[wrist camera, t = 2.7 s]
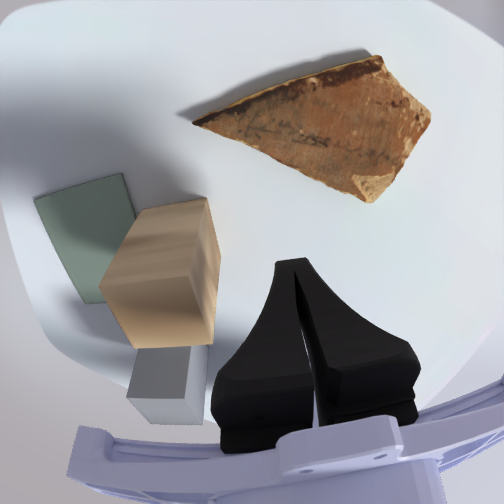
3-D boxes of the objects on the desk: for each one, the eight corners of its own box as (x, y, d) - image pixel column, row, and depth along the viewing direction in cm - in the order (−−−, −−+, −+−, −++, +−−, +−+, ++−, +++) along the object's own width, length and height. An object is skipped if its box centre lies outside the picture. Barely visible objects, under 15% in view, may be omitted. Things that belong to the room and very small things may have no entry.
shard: (195, 118, 15) (189, 124, 14) (259, -5, 11) (261, -13, 10) (364, 200, 18) (374, 213, 16) (427, 98, 14) (443, 103, 13)
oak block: (221, 255, 19) (212, 343, 13) (161, 264, 20) (134, 348, 14) (206, 197, 17) (187, 275, 11) (141, 209, 17) (97, 286, 12)
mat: (165, 294, 21) (165, 296, 21) (86, 301, 21) (85, 304, 21) (121, 173, 16) (119, 175, 16) (35, 199, 16) (33, 201, 16)
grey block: (208, 349, 24) (202, 425, 19) (164, 352, 25) (150, 424, 19) (195, 316, 22) (184, 398, 16) (146, 320, 23) (126, 397, 17)
